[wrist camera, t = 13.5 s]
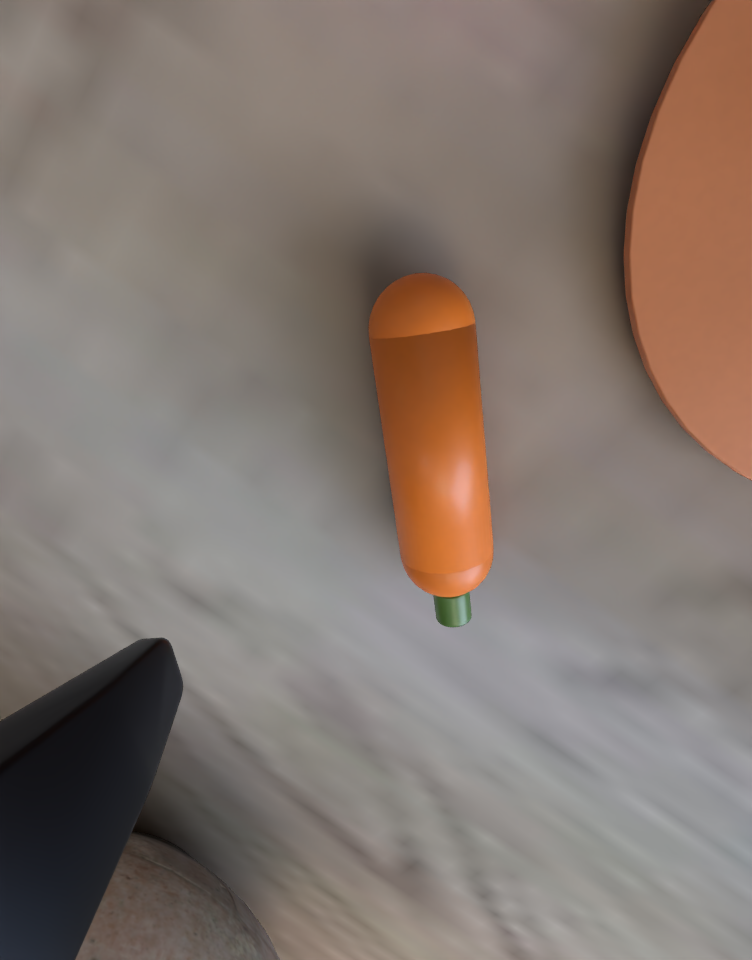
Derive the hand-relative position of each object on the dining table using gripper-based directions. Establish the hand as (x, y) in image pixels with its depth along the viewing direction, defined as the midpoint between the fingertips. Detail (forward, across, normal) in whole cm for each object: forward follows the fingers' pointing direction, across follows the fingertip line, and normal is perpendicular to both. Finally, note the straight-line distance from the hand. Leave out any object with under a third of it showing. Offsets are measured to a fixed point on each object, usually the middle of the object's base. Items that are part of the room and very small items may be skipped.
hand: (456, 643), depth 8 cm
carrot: (+11, 0, 0) cm, 11 cm away
